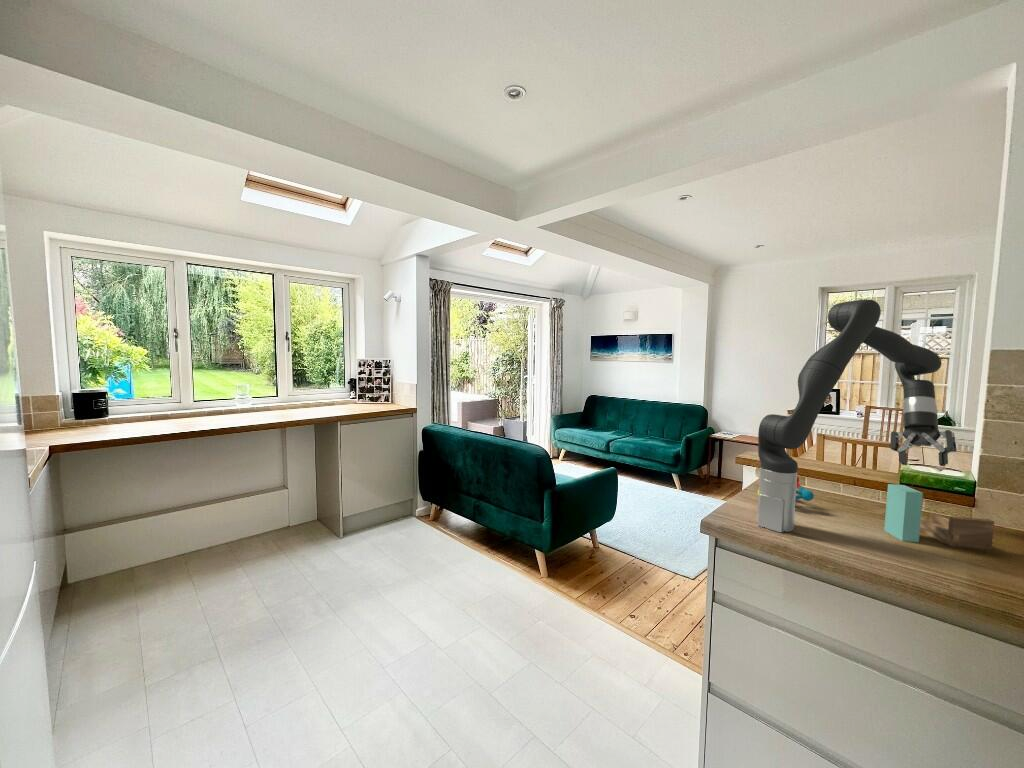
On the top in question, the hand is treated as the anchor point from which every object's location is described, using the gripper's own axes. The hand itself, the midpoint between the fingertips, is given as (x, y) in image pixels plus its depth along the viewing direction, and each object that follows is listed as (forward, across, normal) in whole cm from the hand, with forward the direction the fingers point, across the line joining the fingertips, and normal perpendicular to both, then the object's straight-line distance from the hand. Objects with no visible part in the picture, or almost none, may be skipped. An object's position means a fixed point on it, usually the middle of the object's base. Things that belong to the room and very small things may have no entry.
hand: (922, 465), depth 124 cm
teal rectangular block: (+22, -3, -8) cm, 24 cm away
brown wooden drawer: (+19, +2, +4) cm, 20 cm away
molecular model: (+18, -33, -13) cm, 40 cm away
